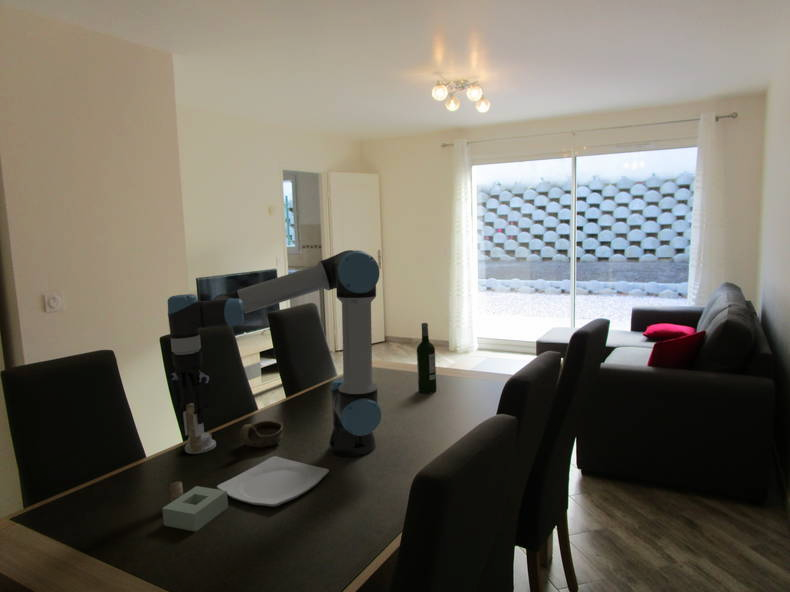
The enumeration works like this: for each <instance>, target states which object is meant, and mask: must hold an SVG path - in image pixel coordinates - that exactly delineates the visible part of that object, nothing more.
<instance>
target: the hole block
mask: <svg viewBox="0 0 790 592" xmlns="http://www.w3.org/2000/svg"><path fill="white" fill-rule="evenodd" d="M228 508H229V499H228V495H227V491H224V490H220V489H218V488H211V487H206V486H205V487H204V486H198V485H196V486H194V487H193V488H191V489H190V490H188V491H187V492H185V493H183V495H182V496H180V497H179V498H177V499H176V500H174V501H173V502H172V501H171V502H169V503H168V504H167V505H165V506H164V507H162V509H161V510H162V517H163V526H165V527H171V528H176V529H180V530H186V531H191V532H198V531H199V530H201V528H203V527H204V526H205V525H206V524H209V523H210V522H211V521H212V520H213V519H214V518H216V517H217V516H219V515H220V514H221V513H222V512H224V511H225V510H227V509H228Z"/></svg>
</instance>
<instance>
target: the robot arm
mask: <svg viewBox="0 0 790 592" xmlns="http://www.w3.org/2000/svg"><path fill="white" fill-rule="evenodd" d="M379 279H380V267H379V264H378V262H377V260H376V259H375V258H374V257H373V256H372V254H369V253H368V252H365V251H363V250H357V249H356V250H355V249H353V250H351V249H349V250H347V249H346V250H344V251H341V252H339V253H336V254H335V255H333V256H330V257H328V258H326V259H322V260H319V261H318V262H317V264H316V265H314V266H310V267H308V268H303V269H301V270H298V271H295V272H292V273H288V274H284V275H281V276H279V277H275V278H272V279H269V280H265V281H262V282H259V283H256V284H252V285H250V286H247V287H243V288H241V289H236V290H234V291H230V292H227V293H220V294H218V295H216V296H215V297H214V298H212V300H198V299H197V295H195V294H194V293H191V294H189V293H188V294H187V293H186V294H177V295H172V296H170V297H169V298H168V299H167V316H168V317H167V318H168V326H169V328H168V329H169V335H170V347H171V352H172V354H171V356H172V357H171V358H172V365H173V366H172V367H174V368H175V371H174V372H173V373H170V374H168V375H167V378H168V380H169V382H170V387H171V388H170V389H171V392H172V393H171V394H172V398H173V399H172V400H173V405H174V409H175V410H179V411H180V412H181V418H182V419H181V421H182V423H183V425H184V434H185V436H189V430H188V420H187V410H186V405H188V404H191V400H192V402H193V404H194V408H195V412H193V420H194V430H195V437H198V436H200V435H202V434H204V433H205V428H204V427H205V426H204V423H205V412H206V411H208V410H209V409H210V408H211V407H210V406H211V405H210V403H211V402H210V401H211V400H210V399H211V397H210V396H211V395H210V394H211V393H210V390H211V388H210V383H211V380H212V376H211V375H210V374H207V375H206V374H205V373H204V370H203V369H202V364H203V352H202V350H201V348H202V344H201V332H200V329H209V328H212V329H213V328H223V327H235V326H240V325H241V326H242V325H243V324H244V322H245V317H244V315H245V314H248V313H252V312H254V311H258V310H261V309H263V308H266V307H267V308H268V307H270V306H273V305H277V304H280V303H283V302H287V301H289V300H292V299H293V300H294V299H296V298H298V297H302V296H305V295H309V294H311V293H315V292H319V291H321V290H327V292H328V291H331V290H336V299H337V300H339V301H340V302H341V313H342V314H341V324H342V325H341V326H342V327H341V328H342V329H341V330H342V361H343V362H342V368H343V369H342V371H343V372H342V374H343V375H342V377H343V378H340V379H339V378H338V379H335V380H333V381H332V382H331V383H330V394H331V395H330V396H331V397H330V398H331V410H332V422H333V423H332V426H333V427H332V431H331V434H330V439H329V442H328V444H329V445H328V446H329V452H330V453H331V454H332V455H335V456H338V457H349V458H350V457H357V456H363V455H367V454H368V453H370V452H372V451H373V450H375V448H376V445H377V444H376V437H375V435H374V433H373V432H374V431H375V430H376V429H377V428H378V426H379V425H380V423H381V421H382V410H381V407H380V404H379V401H378V398H379V397H378V396H379V395H378V386H377V384H376V383H374V382H373V355H372V354H373V350H372V349H373V348H372V346H373V344H372V340H373V339H372V335H373V334H372V302H373V301H374V300H375V298H376V297H377V284H378V282H379Z"/></svg>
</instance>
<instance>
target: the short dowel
mask: <svg viewBox="0 0 790 592" xmlns="http://www.w3.org/2000/svg"><path fill="white" fill-rule="evenodd" d="M169 489H170V499H171V502H173V501H174V500H176V499H177V498H179V497H180V496H182V495H183V494H184V489H183V482H182V481H179V480H178V481H175V482H172V483H170V485H169Z"/></svg>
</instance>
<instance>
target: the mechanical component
mask: <svg viewBox="0 0 790 592" xmlns="http://www.w3.org/2000/svg"><path fill="white" fill-rule="evenodd" d="M201 444H202V450H201V451H198V452H191V451H190V441H189V436H188V438H187V444H186V445H185V446H184V451H185V453H187V454H190V455H194V454H203V453H207V452H209V451H211V450H213V449H215V448H216V446H217V442H216V440H215V439H213V438H212V433H209V432H204V434H202V435H201Z"/></svg>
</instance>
